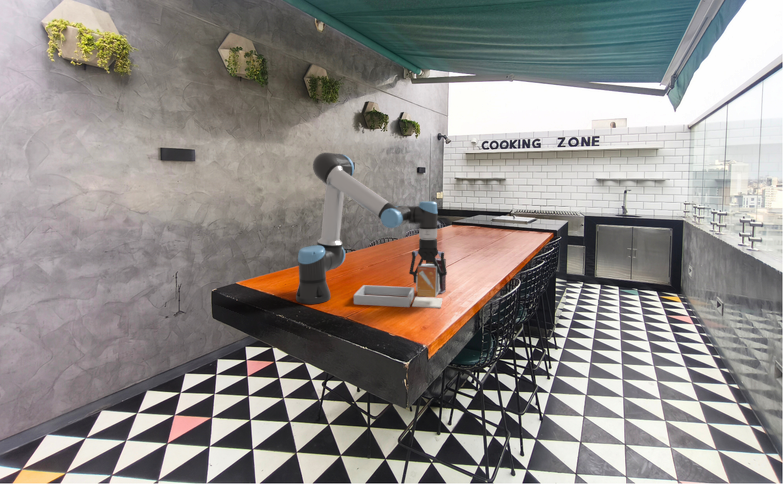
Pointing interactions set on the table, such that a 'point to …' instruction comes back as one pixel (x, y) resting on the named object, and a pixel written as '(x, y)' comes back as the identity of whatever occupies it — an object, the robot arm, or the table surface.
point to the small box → (427, 280)
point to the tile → (427, 302)
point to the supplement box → (443, 285)
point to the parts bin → (384, 300)
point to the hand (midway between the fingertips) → (427, 290)
